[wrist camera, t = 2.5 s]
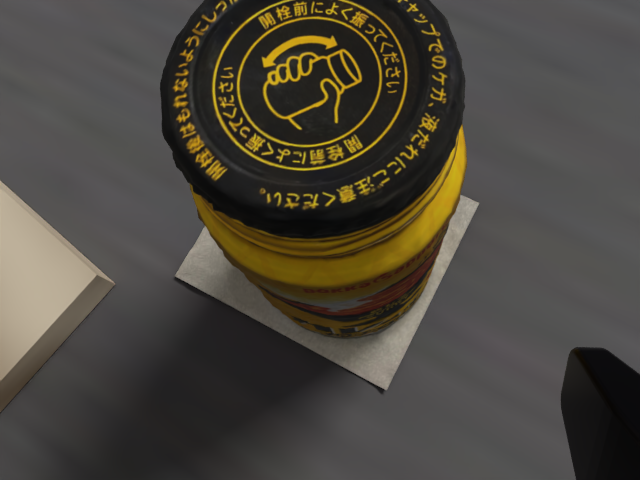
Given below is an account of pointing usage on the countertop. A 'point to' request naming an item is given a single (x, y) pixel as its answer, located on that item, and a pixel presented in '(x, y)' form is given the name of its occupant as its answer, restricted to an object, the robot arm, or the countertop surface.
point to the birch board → (38, 292)
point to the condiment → (322, 166)
